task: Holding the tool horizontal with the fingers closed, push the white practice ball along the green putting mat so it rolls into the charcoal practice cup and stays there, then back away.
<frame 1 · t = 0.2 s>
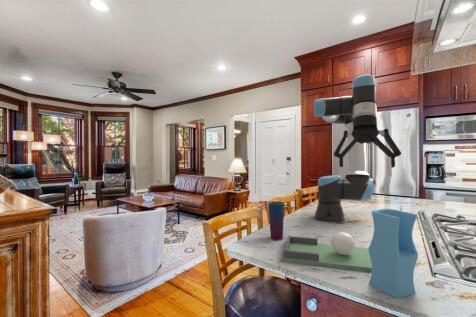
hand: (366, 176, 80), 28 cm above the kitchen island, tool pointing down, fingers open, 13 cm apart
vase: (392, 288, 63), on the kitchen island
mat: (333, 256, 82), on the kitchen island
smoothie: (401, 240, 97), on the kitchen island
cup: (276, 238, 101), on the kitchen island
ball: (342, 243, 81), point 5 cm above the kitchen island, touching mat
practice cup: (303, 250, 84), resting on mat
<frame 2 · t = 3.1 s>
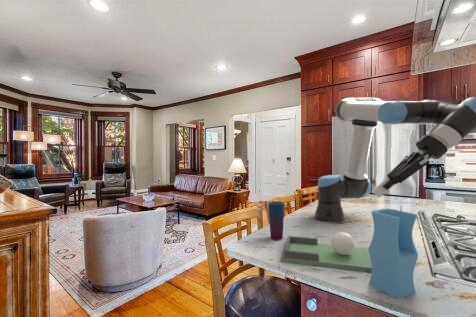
hand: (375, 194, 78), 22 cm above the kitchen island, tool tilted 45°, fingers closed
nothing on the kitchen island moved.
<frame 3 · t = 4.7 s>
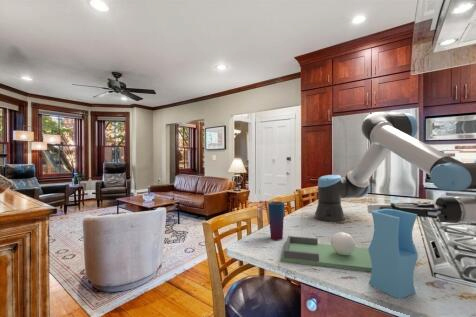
hand: (368, 208, 79), 17 cm above the kitchen island, tool horizontal, fingers closed
nothing on the kitchen island moved.
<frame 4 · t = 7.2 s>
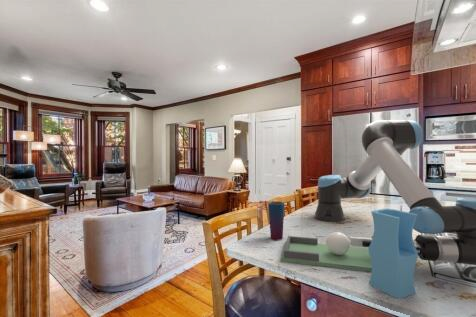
hand: (350, 241, 80), 6 cm above the kitchen island, tool horizontal, fingers closed
ball: (337, 243, 81), point 5 cm above the kitchen island, tilted 24°, touching mat
everything else where it was.
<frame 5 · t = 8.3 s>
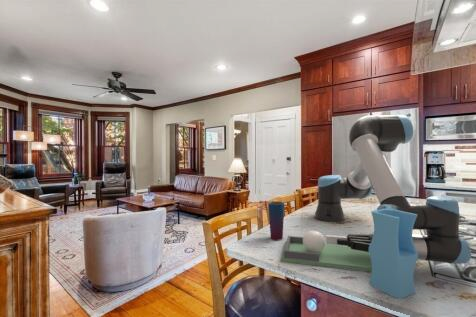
hand: (326, 239, 82), 6 cm above the kitchen island, tool horizontal, fingers closed
ball: (313, 241, 83), point 5 cm above the kitchen island, tilted 143°, touching mat
everything else where it was.
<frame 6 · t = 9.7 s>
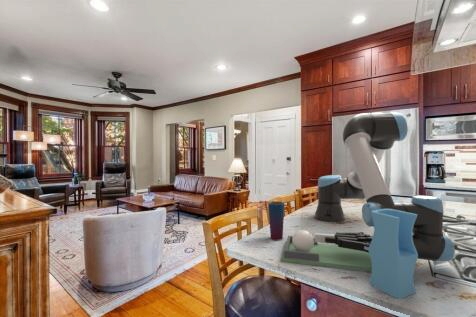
hand: (314, 237, 83), 6 cm above the kitchen island, tool horizontal, fingers closed
ball: (302, 241, 83), point 5 cm above the kitchen island, tilted 160°, touching mat
everything else where it was.
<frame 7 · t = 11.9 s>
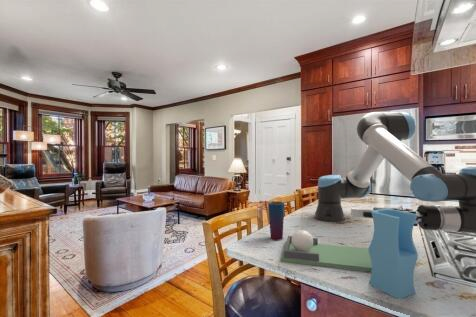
hand: (351, 212, 79), 16 cm above the kitchen island, tool horizontal, fingers closed
nothing on the kitchen island moved.
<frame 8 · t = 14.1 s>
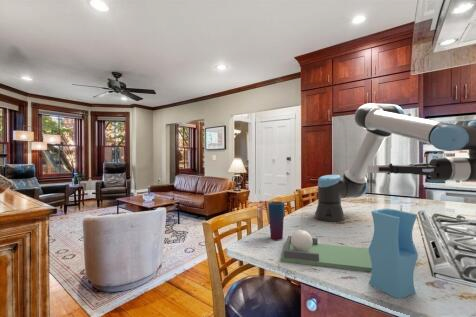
hand: (367, 168, 85), 30 cm above the kitchen island, tool horizontal, fingers closed
nothing on the kitchen island moved.
at the end: ball 1.2 cm from the practice cup (horizontally); ball point 4.9 cm above the kitchen island; ball moved 13.7 cm from its start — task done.
